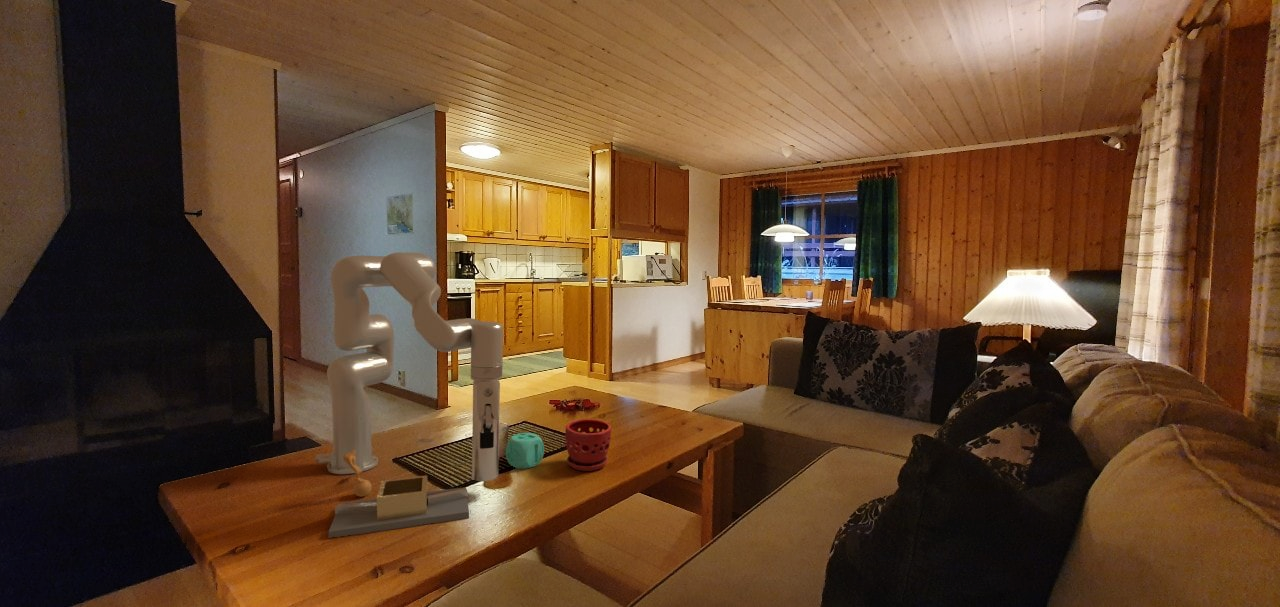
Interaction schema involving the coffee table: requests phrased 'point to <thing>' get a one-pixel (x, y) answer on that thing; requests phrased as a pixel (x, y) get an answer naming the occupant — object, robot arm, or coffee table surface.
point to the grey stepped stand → (401, 499)
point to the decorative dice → (524, 450)
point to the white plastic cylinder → (489, 457)
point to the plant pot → (587, 444)
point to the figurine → (357, 475)
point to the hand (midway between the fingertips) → (485, 442)
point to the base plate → (369, 523)
